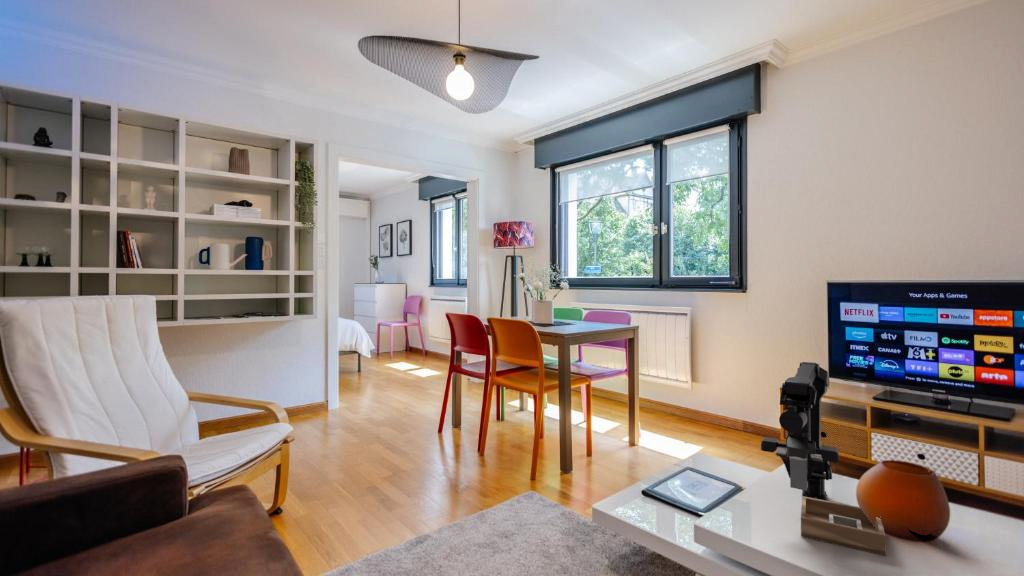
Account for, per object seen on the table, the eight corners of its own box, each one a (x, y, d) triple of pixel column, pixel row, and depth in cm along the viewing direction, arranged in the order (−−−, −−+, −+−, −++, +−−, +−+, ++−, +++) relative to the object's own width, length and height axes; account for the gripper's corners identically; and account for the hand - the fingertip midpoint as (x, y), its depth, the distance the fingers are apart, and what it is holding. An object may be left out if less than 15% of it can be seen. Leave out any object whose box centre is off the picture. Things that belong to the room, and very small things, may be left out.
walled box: (802, 513, 141) (802, 496, 141) (878, 528, 132) (878, 510, 132) (801, 536, 128) (800, 517, 128) (886, 556, 118) (885, 535, 118)
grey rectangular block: (791, 482, 139) (791, 455, 139) (807, 485, 137) (807, 457, 137) (790, 487, 136) (789, 459, 136) (807, 490, 133) (806, 461, 133)
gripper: (758, 426, 135) (758, 481, 135) (838, 437, 124) (838, 497, 124) (763, 417, 144) (763, 469, 144) (838, 427, 134) (838, 483, 133)
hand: (799, 479), depth 136 cm, fingers closed on grey rectangular block, 4 cm apart
